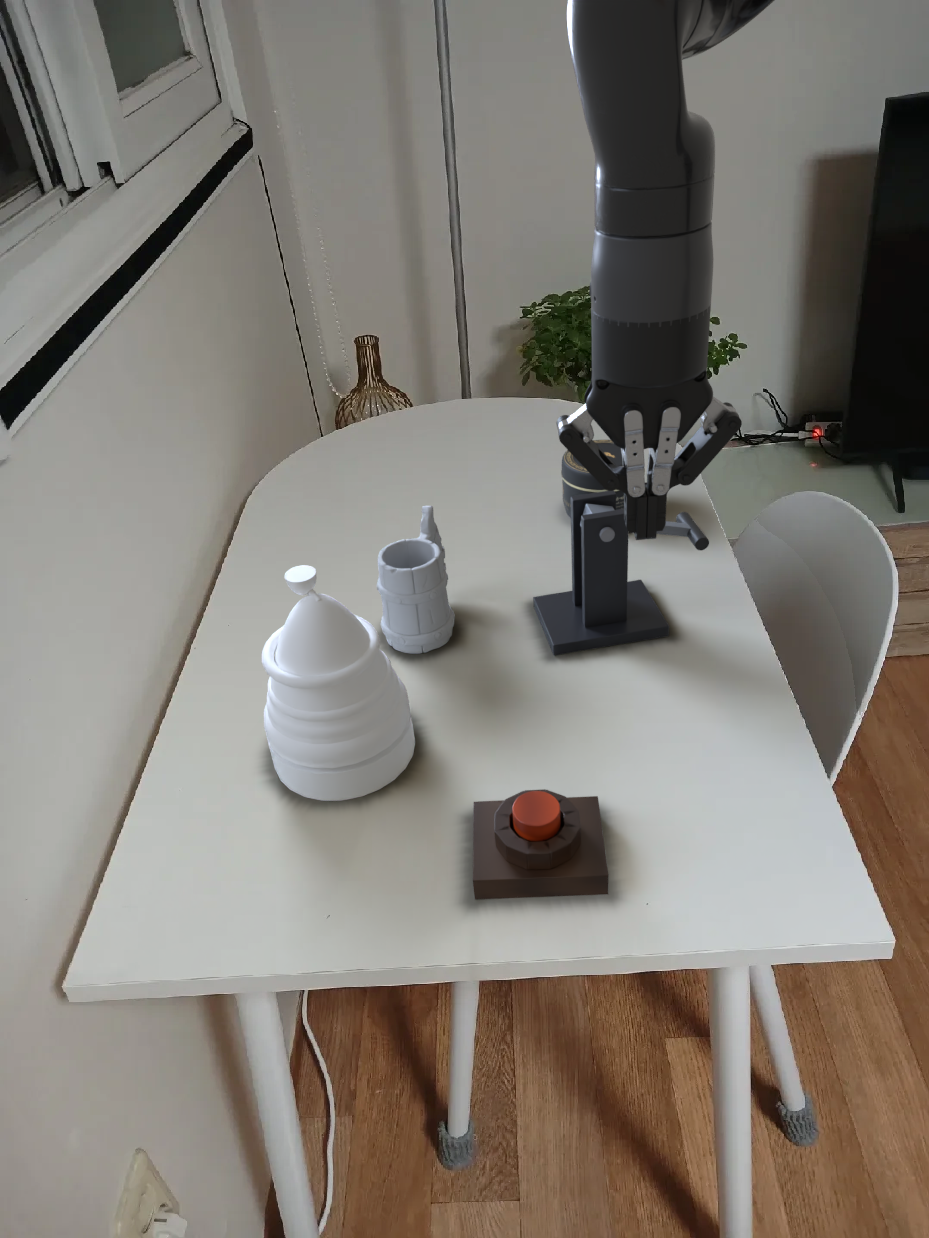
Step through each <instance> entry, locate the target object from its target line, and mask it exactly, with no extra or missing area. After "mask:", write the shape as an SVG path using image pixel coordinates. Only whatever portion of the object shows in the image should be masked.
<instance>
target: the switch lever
mask: <svg viewBox="0 0 929 1238" xmlns="http://www.w3.org/2000/svg"><path fill="white" fill-rule="evenodd" d="M613 510H614V508H613V507H612V506H604V505H595V504H586V505H585V509H584V512H583V515H587V514H594V513H600V512H607V511H613ZM580 526H581V522H580ZM657 535H666V536H673V537H684V538H688V539H689V541H690V543H691V544H692V545H693V546H694V548H695V549H696V550H697V551H705V549H706V550H707V548H708V547H709V545H710V540H709V538H708V537H707V536H706V534H705V533H704V532H703V530H702V529H701V528H700V527H699V525H698V524H697V523H696V521H695V519H693V518H692V516H691V515H690V514H689V513H688V512H687V511H681V512H679V513H678V514H677V515H676V517H675V521H669V520H666V525H665V527H664V529H663V531H657Z"/></svg>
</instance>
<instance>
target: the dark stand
mask: <svg viewBox="0 0 929 1238" xmlns="http://www.w3.org/2000/svg"><path fill="white" fill-rule="evenodd" d="M570 500H571V518H570V534H571V535H570V541H571V542H570V545H571V548H570V549H571V551H570V552H571V590H568V591H562V592H556V593H549V594H543V595H537V596H533V597H532V603H533V609H534V611H535V613H536V616H537V618H538V621H539V623H540V626H541V628H542V632H543V633H544V636H545V639H546V641H547V643H548V645H549V648H550V650H551V653H552V655H553V656H559V655H565V654H570V653H577V652H582V651H589V650H595V649H600V648H606V647H610V646H613V647H614V646H618V645H624V644H629V643H630V644H631V643H637V642H642V641H648V640H654V639H660V638H666V637H669V636H670V625H669V623H668V621H667V620H666V618H665V617H664V615H663V613H662V611H661V610H660V608H659V606H658V605H657V603H656V602H655V600H654V599H653V597H652V595H651V594H650V591H649V590H648V588H647V587H646V585H645V584H644V582H643V580H642V579H636V580H635V579H634V580H629V581H628V579H629V577H628V576H629V575H628V573H629V572H628V571H629V569H628V568H629V532H628V530H627V527H626V524H625V520H624V509H619V510H616V493H615V492H614V490H613V491H603V492H596V493H590V494H583V495H577V496H571V497H570ZM586 504H595V505H604V506H612V507H613V508H614V510H613V511H607V512H600V513H594V514H587V515H583V512H584V509H585V505H586ZM580 522H581V526H580Z"/></svg>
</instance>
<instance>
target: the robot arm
mask: <svg viewBox="0 0 929 1238" xmlns="http://www.w3.org/2000/svg"><path fill="white" fill-rule="evenodd" d="M773 2H775V0H566V30H567V31H566V32H567V40H568V48H569V53H570V59H571V63H572V67H573V68H572V69H573V72H574V77H575V81H576V85H577V89H578V94H579V99H580V103H581V107H582V113H583V116H584V121H585V124H586V128H587V131H588V135H589V138H590V142H591V146H592V148H593V154H594V171H593V174H594V177H593V179H594V185H593V186H594V187H593V188H594V190H593V191H594V192H593V193H594V233H593V234H594V235H593V236H594V237H593V246H592V253H591V263H590V282H589V286H588V287H589V289H588V291H589V296H590V303H591V304H590V305H591V306H590V307H591V308H590V314H591V315H590V316H591V321H590V322H591V323H590V324H591V325H590V327H591V380H590V383H589V385H588V386H587V389H586V390H585V393H584V404H583V405H581V406H580V407H579V408H578V409H577V410H576V411H574V412H573V413H572V414H570V415H568V414H563V415H561V416H559V417H557V420H556V422H555V423H556V429H557V434H558V440H559V442H560V443H561V445H563V447H564V448H565V449H566V451H567V450H568V451H569V452H570V453H571V454H572V455H573V456H574V457H575V458H576V459H577V460H578V461H579V462H580V463H581V464H582V465H583V466H584V468H585V469H586V470H587V471H588V472H589V473H590V474H591V475H592V476H593V477H594V478H595V479H596V480H597V481H598V482H599V483H600V484H601V486H602V487H603V488H604V489H605V490H607V491H613V490H620V491H622V492H624V520H625V524H626V527H627V530H628V534H633V535H634V538H635V540H636V541H643V540H655V539H657V535H658V534H657V531H663V529H664V527H665V525H666V521H667V498H668V497H667V496H668V493H669V491H670V490H671V489H672V488H674V487H676V486H679V485H681V486H685V487H686V486H690V485H691V484H693V483H694V482H695V480H696V479H697V478H698V477H699V476H700V475H701V474H702V473H703V471H705V469H706V468H707V467H708V466H709V465H710V464H711V462H712V461H713V460H714V459H715V458H716V457H717V456H718V454H719V453H720V452H721V451H722V450H723V448H725V446H726V445H727V444H728V443H729V442H730V441H731V440H732V438H733V437H734V436H735V435H736V434H737V433H738V431H740V429H741V428H742V424H743V423H742V420H741V418H740V415H739V413H738V411H737V410H736V408H735V407H734V406H733V404H732V403H730V402H727V401H726V402H722V401H721V400H719V399H718V398H717V397H715V396H714V391H713V387H712V385H711V383H710V381H709V378H708V357H709V342H710V327H711V325H710V324H711V311H712V293H713V280H714V279H713V276H714V247H713V246H714V245H713V232H712V231H713V228H712V227H713V224H712V221H713V207H714V190H715V189H714V188H715V173H716V139H715V138H716V137H715V132H714V129H713V127H712V125H711V123H710V121H708V120H707V119H706V118H705V117H704V116H702V115H700V114H698V113H696V112H693V111H689V110H688V105H687V96H686V89H685V88H686V87H685V80H684V79H685V78H684V71H683V60H687V59H691V58H693V57H696V56H699V55H700V54H701V55H702V53H705V52H707V51H709V50H711V49H712V48H714V47H716V46H718V45H719V44H720V43H722V42H724V41H725V40H727V39H728V38H730V37H731V36H733V35H734V34H735V33H737V32H739V31H740V30H742V28H744V27H745V26H746V25H747V24H749V23H750V22H752V21H753V20H754V19H755V18H756V17H758V16H759V15H760V14H761V13H762V12H764V10H765V9H767V8H768V7H769V6H770V5H771V4H772V3H773ZM699 419H700V421H699ZM593 421H594V422H595V423H596V424H597V425H598V427H599V428H600V429H601V430H602V432H603V433H604V434H605V435H606V436H607V438H609V440H611V441H612V442H613V443H614V444H615V445H616V446H618V447H620V448H621V452H622V463H623V467H621V466H617V465H615V464H614V463H613V462H612V461H611V460H610V459H609V457H608V456H607V455H606V454H605V453H604V452H603V451H602V450H601V449H600V448H599V447H598V446H597V444H596V443H595V442H594V441H593V440H594V438H595V432H594V428H593V425H592V422H593ZM698 421H699V422H700V425H701V426H700V427H699V428H698V429H697V430H696V432H695V433H694V434H693V435H692V436H691V438H690V439H689V440H688V441H687V443H685V444H684V446H683V447H682V448H681V449H680V451H679V452H677V451H676V449H677V445H678V443H680V442H681V441H682V440H683V439H685V437H686V436H687V435H688V433H689V432H690V431H691V430H692V428H693V427H694V425H696V423H697V422H698ZM647 449H648V456H647V457H648V458H647V466H646V478H645V475H644V468H645V465H646V464H645V463H646V462H645V450H647ZM676 452H677V454H676ZM645 479H646V480H645Z"/></svg>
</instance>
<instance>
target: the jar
mask: <svg viewBox="0 0 929 1238" xmlns="http://www.w3.org/2000/svg"><path fill="white" fill-rule="evenodd" d="M592 440H593V441H594V442H595V443H596V444H597V446H598V447H599V448H600V449H601V450H602V451H603V452H604V453H605V454H606V455H607V456H608V457H609V459H610V460H611V461H612V462H613V463H614V464H615V465H617V466H621V467H623V463H622V452H621V448H620V447H618V446H616V445H615V444H614V443H613V442H612V441H611V440H610V439H592ZM560 471H561V472H560V474H561V484H562V503H563V506H564V507H563V508H564V509H565V513H566V515H567V516H568V517H569V519H571V500H570V497H571V496H577V495H583V494H590V493H596V492H603V491H607V490H605V489H604V488H603V487H602V486H601V484H600V483H599V482H598V481H597V480H596V479H595V478H594V477H593V476H592V475H591V474H590V473H589V472H588V471H587V470H586V469H585V468H584V466H583V465H582V464H581V463H580V462H579V461H578V460H577V459H576V458H575V457H574V456H573V455H572V454H571V453H570V452H569V451H568V450H567V449H566V450H565V452H564V453H563V455H562V457H561V470H560ZM645 472H646V468H645V467H644V476H645V474H646V473H645ZM614 492H615V493H616V510H619V509H624V492H622V491H620V490H614Z"/></svg>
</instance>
